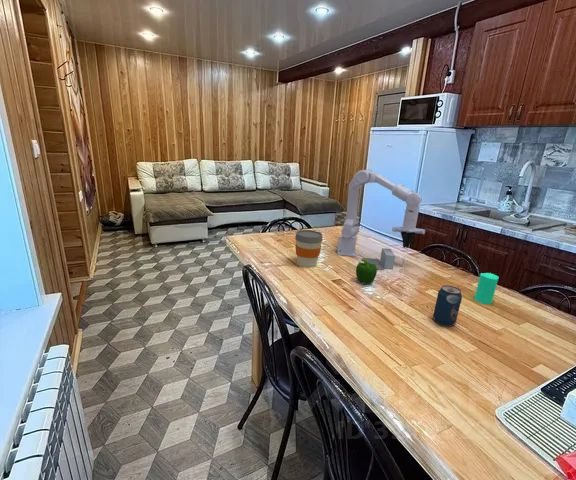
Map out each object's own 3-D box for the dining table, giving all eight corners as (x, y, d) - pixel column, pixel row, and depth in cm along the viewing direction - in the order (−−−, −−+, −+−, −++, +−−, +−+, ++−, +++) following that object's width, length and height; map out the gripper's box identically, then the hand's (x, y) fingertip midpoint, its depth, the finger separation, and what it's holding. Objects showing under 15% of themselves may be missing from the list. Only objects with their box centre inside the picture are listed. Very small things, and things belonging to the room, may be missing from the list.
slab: (384, 269, 147) (386, 255, 145) (380, 261, 156) (382, 248, 154) (392, 269, 146) (395, 255, 144) (388, 262, 156) (390, 248, 154)
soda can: (454, 330, 100) (462, 296, 96) (430, 322, 103) (438, 289, 99) (456, 320, 105) (464, 288, 102) (434, 313, 109) (440, 282, 105)
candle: (489, 298, 123) (497, 270, 119) (493, 305, 117) (502, 276, 114) (472, 295, 124) (479, 267, 121) (475, 302, 119) (483, 273, 115)
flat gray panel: (366, 268, 145) (366, 268, 145) (362, 258, 159) (362, 257, 159) (384, 270, 145) (384, 269, 145) (378, 259, 158) (378, 259, 158)
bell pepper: (378, 282, 132) (382, 260, 129) (369, 288, 126) (372, 265, 123) (361, 276, 137) (364, 254, 134) (351, 281, 131) (354, 259, 128)
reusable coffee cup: (289, 265, 144) (291, 234, 139) (298, 257, 155) (300, 228, 150) (315, 271, 139) (318, 239, 135) (323, 262, 151) (326, 232, 146)
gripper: (396, 220, 140) (391, 248, 145) (429, 222, 140) (423, 251, 144) (392, 216, 147) (388, 244, 151) (424, 218, 146) (419, 246, 150)
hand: (405, 247), depth 148 cm, fingers closed
